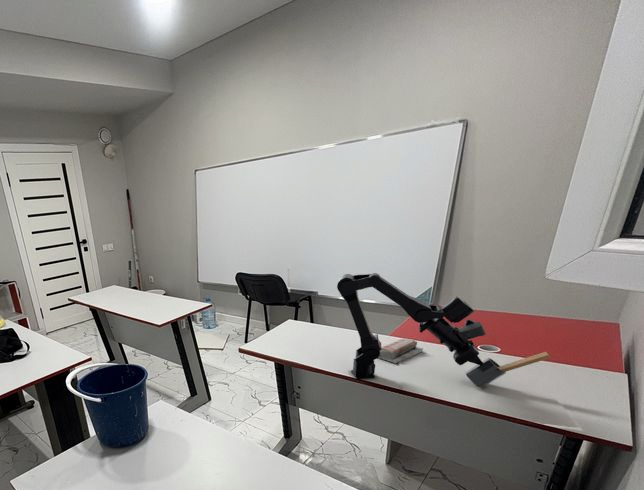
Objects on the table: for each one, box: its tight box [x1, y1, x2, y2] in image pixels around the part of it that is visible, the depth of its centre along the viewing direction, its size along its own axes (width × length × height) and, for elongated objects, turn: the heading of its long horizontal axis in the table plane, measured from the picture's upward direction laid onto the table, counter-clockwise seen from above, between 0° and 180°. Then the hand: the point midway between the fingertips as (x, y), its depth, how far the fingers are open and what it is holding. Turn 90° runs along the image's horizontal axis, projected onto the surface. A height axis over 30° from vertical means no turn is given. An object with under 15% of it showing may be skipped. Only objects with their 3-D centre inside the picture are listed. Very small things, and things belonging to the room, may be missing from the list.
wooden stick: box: [498, 351, 551, 373], centre depth 114 cm, size 1×2×19 cm
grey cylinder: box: [464, 357, 507, 388], centre depth 117 cm, size 6×6×8 cm
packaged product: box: [377, 338, 424, 364], centre depth 147 cm, size 18×5×10 cm
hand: (481, 363), depth 117 cm, fingers closed, pressing on grey cylinder
